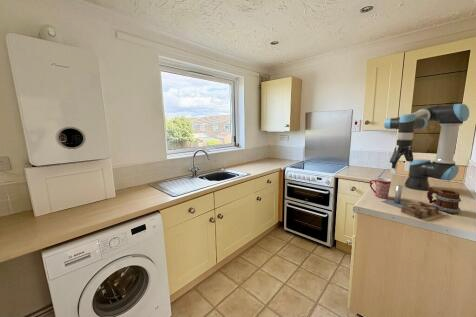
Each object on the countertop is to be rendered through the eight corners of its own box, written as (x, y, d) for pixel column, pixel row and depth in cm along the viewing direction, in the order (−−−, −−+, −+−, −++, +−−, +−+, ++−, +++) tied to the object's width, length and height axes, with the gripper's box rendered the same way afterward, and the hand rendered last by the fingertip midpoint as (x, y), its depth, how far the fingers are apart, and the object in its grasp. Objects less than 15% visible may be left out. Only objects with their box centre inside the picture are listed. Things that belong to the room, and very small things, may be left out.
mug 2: (462, 216, 110) (460, 190, 110) (427, 212, 121) (425, 189, 120) (462, 210, 118) (460, 186, 117) (429, 207, 129) (427, 184, 128)
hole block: (419, 207, 124) (420, 201, 123) (438, 213, 115) (439, 207, 114) (400, 212, 118) (401, 206, 117) (418, 219, 109) (419, 212, 109)
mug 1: (390, 197, 141) (393, 179, 139) (387, 200, 135) (389, 182, 133) (370, 192, 150) (372, 175, 148) (366, 195, 144) (368, 178, 142)
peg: (396, 201, 132) (398, 184, 130) (401, 203, 129) (403, 186, 127) (393, 202, 131) (395, 185, 129) (398, 204, 128) (400, 186, 126)
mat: (394, 198, 138) (394, 198, 138) (414, 205, 127) (414, 204, 127) (380, 201, 134) (380, 201, 134) (400, 208, 123) (400, 208, 123)
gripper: (409, 138, 131) (405, 169, 135) (385, 139, 122) (381, 172, 125) (423, 138, 124) (418, 171, 128) (399, 140, 115) (394, 175, 119)
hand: (400, 172), depth 127 cm, fingers open, 13 cm apart
